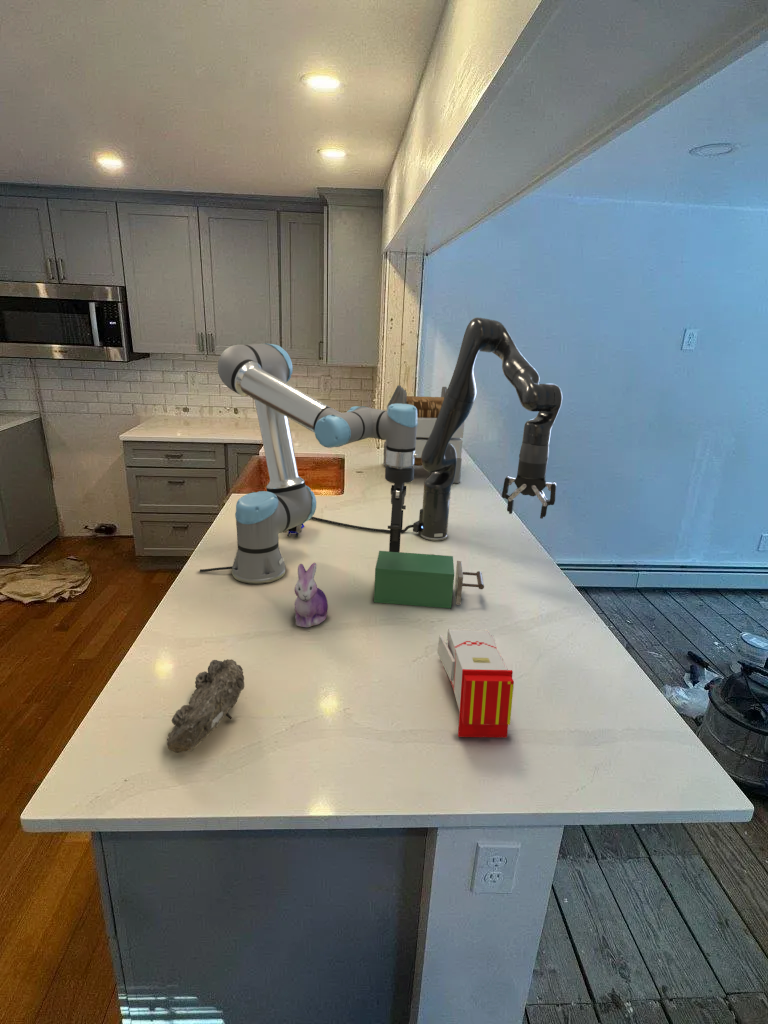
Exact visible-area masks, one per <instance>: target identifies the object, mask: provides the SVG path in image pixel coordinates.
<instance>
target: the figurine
mask: <svg viewBox="0 0 768 1024" xmlns="http://www.w3.org/2000/svg"><path fill="white" fill-rule="evenodd" d="M316 573H317V563H316V562H313V563H311V565H310V566H309V567H308V569H307V570H306V567H305V566H304V565H303V563H300V564H298V566H297V575H298V576H297V578H298V579H297V581H296V583H295V586H294V589H293V590H294V594H295V596H296V598H295V601H294V612H295V615H294V619H295V626H297V627H302V628H311V627H312V626H313V627H314V626H318V625H320V624H322V623H323V622H324V621H325V620H326V619H327V616H328V610H329V604H328V598H327V595H326V594H325V592H324V591H323V590H322V589H321V588H319V587H318V586H317V583H316V581H315V575H316Z"/></svg>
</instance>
